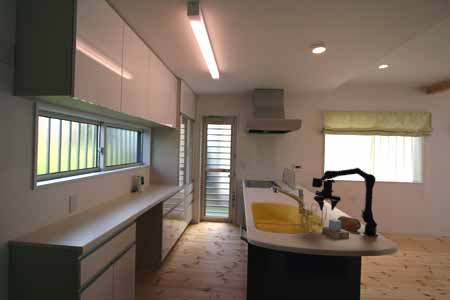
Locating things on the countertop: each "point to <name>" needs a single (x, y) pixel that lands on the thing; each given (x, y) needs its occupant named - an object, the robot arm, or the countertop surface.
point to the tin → (349, 223)
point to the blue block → (335, 224)
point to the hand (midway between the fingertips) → (326, 210)
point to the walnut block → (335, 233)
